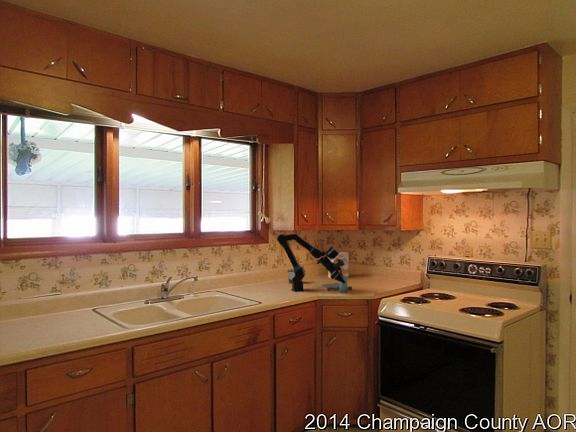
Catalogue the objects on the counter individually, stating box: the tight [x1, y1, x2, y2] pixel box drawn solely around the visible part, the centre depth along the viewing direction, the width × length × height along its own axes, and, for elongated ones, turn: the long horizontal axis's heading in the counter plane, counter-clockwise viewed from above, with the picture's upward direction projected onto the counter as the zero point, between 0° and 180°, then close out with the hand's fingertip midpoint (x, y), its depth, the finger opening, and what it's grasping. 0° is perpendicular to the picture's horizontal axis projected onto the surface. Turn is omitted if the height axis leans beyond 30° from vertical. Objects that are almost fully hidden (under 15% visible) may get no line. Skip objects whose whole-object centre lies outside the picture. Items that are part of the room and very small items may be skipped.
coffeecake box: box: [327, 251, 350, 280], centre depth 311 cm, size 15×7×20 cm, turn 119°
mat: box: [321, 282, 339, 288], centre depth 274 cm, size 12×12×1 cm
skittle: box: [338, 276, 348, 294], centre depth 254 cm, size 5×5×10 cm
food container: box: [286, 268, 303, 285], centre depth 287 cm, size 12×6×10 cm, turn 84°
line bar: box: [326, 285, 353, 292], centre depth 261 cm, size 16×2×2 cm, turn 96°
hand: (345, 282), depth 254 cm, fingers open, 6 cm apart
